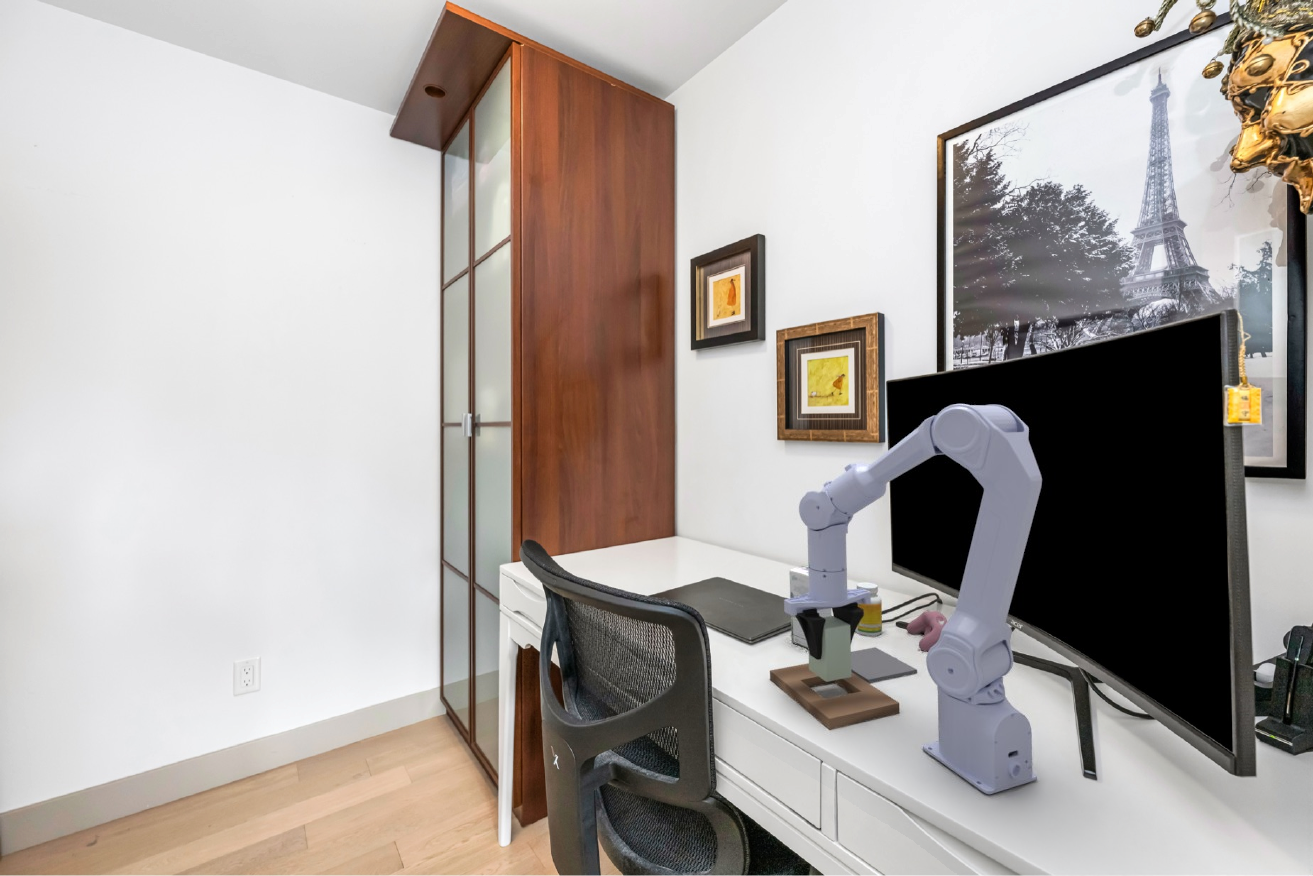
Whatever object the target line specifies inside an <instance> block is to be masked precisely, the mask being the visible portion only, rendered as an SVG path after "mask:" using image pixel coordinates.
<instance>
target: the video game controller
mask: <svg viewBox="0 0 1313 876" xmlns="http://www.w3.org/2000/svg"><path fill="white" fill-rule="evenodd" d="M947 621H948V619H947V617H946V616H945V615H944V614H943V613H940V612H938V611H936V610H930V609H929V608H927V610H925V611H923V612H922V613H920V615H918V617H916V618H914V619H912V620H911V621H910V622H909V623H908V624H907V626H906V632H907V633H909V634H910V635H916V634H920V633H922V632H923V633H924V634H923V635H924V636H923V637H922V638H921V639H920V641H919V642H918V648H919V649H920V650H921V651H923V652H928V651H929V650H930V648H931V647H932V646H934V645H935V644H936V643H937V642H938V640H939V638H940V635H941V630H942V629H943V627H944V626H945V624H946V623H947ZM924 630H925V631H924ZM921 631H922V632H921Z"/></svg>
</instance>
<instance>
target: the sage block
mask: <svg viewBox="0 0 1313 876" xmlns="http://www.w3.org/2000/svg"><path fill="white" fill-rule="evenodd" d="M823 618H824V619H826V621H825V625H824V629H823V635H822V656H821V659H819V660H817V659H815V658H814V657H812V656H811V655H810V653H809V652H808V663H809V670H810V671H812V672H813V673H815V674H816V675H817V676H819V677H820V678H822V679H823V680H824V681H826V682H828V681H833V680H838V679H843V678H848V677H851V652H852V647H851V646H852V643H851V638H850V625H849V624H847V623H845V622H843V621H842V620H840V619H838V618H836V617H834V616H833V615H832V616H826V617H823Z"/></svg>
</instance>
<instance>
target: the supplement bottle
mask: <svg viewBox="0 0 1313 876" xmlns="http://www.w3.org/2000/svg"><path fill="white" fill-rule="evenodd" d="M878 587H879V586H878V585H877V584H876V583H875V582H874V583H872V582H868V581H867V582H866V581H865V582H858V583H856V589H865V590H867V591H870V592H871V604H863V603H861V604H858V607H860V608H862V609H863V610H864V616H863V618H862V619H861V620H860V622H859V624H858V626H857V628H856V630H855V633H857V634H859V635H861V636H866V637H876V636H880V635H881V634H882V632H883V619H882V618H883V617H882V616H883V614H882V613H883V610H882V609H883V608H882V605H883V602H882V598H881V596H880V595H879V594H878V592H879V588H878Z"/></svg>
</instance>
